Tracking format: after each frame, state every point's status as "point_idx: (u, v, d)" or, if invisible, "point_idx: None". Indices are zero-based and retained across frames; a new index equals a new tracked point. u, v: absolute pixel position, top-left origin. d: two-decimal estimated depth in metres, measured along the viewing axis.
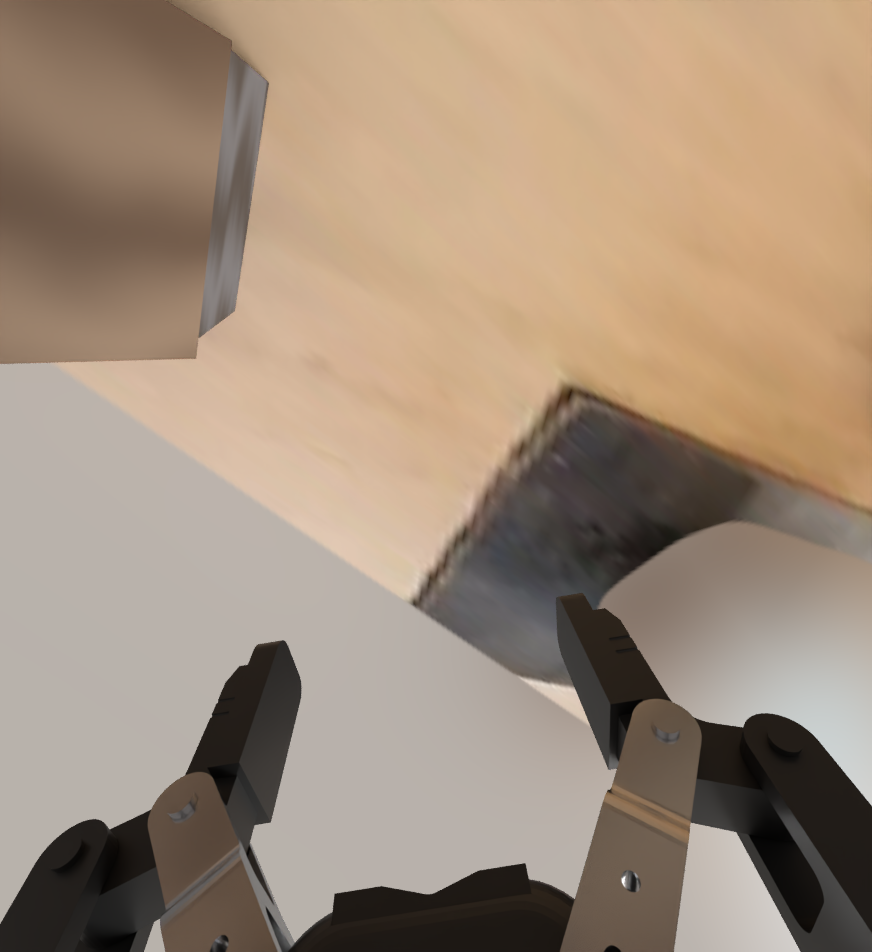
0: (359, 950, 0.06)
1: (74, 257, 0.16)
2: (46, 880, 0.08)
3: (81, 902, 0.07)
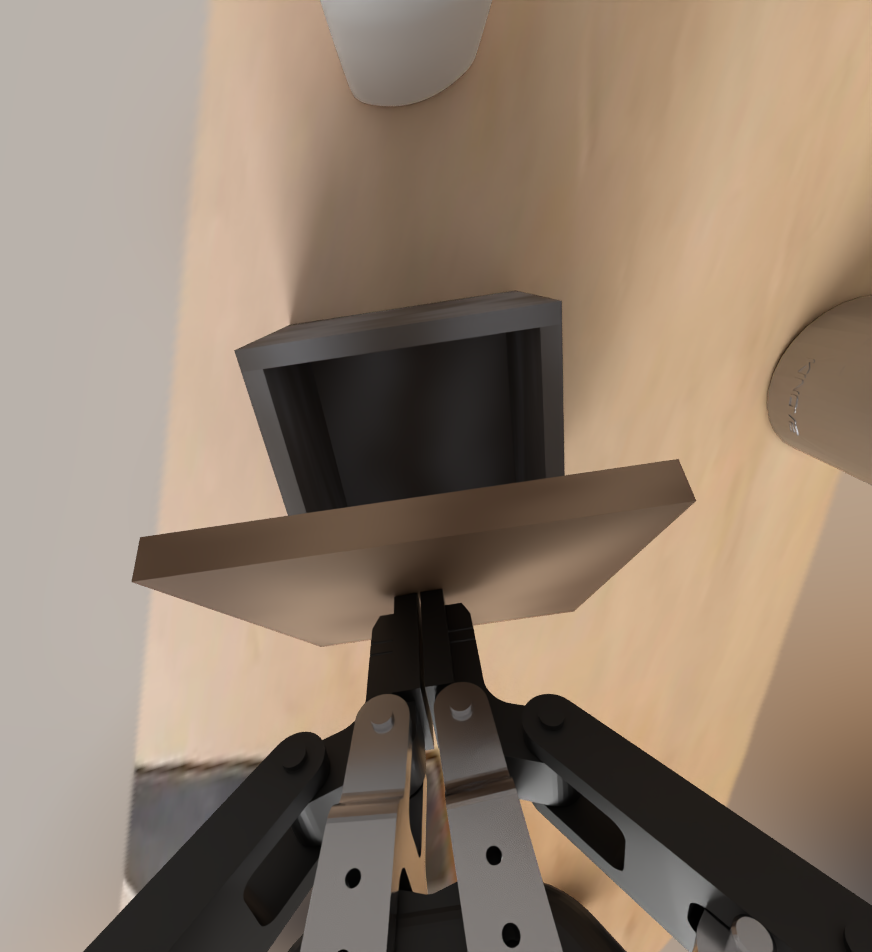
0: None
1: None
2: (277, 768, 0.09)
3: (287, 813, 0.08)
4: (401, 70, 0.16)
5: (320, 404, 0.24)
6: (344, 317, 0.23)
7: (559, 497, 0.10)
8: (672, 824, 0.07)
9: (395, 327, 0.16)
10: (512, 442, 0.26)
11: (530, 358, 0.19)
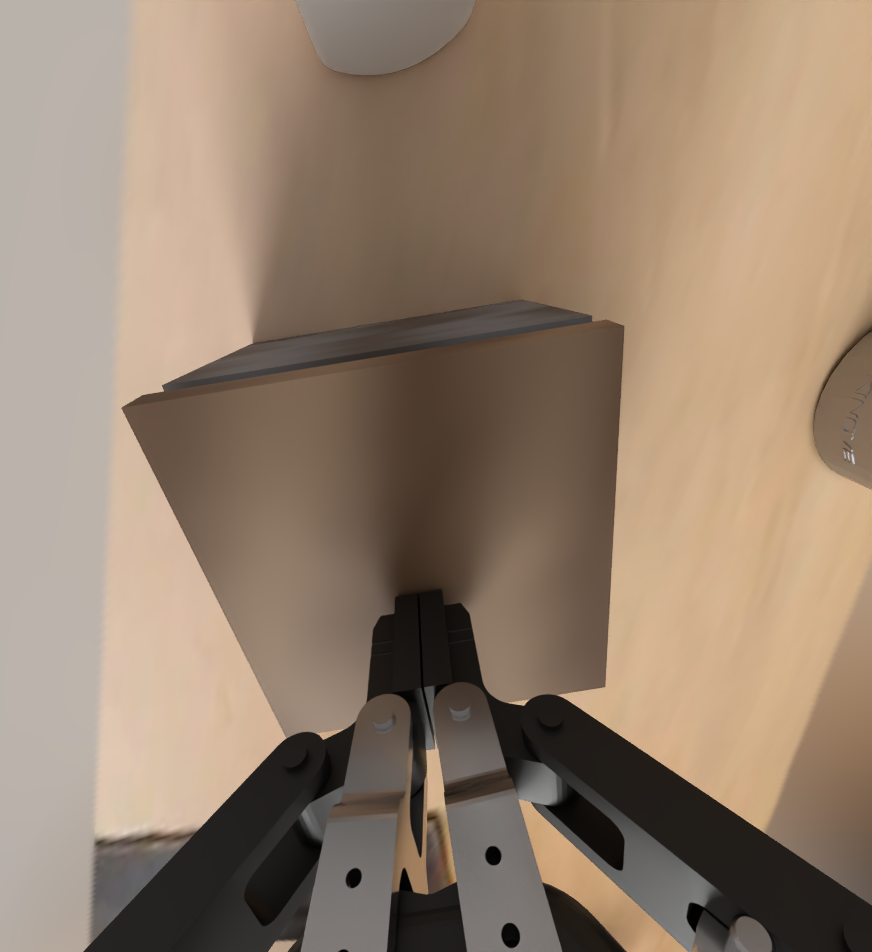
0: None
1: (362, 629, 0.14)
2: (278, 768, 0.09)
3: (287, 813, 0.08)
4: (377, 17, 0.12)
5: None
6: (317, 334, 0.19)
7: (504, 340, 0.11)
8: (671, 824, 0.07)
9: (374, 353, 0.12)
10: None
11: None
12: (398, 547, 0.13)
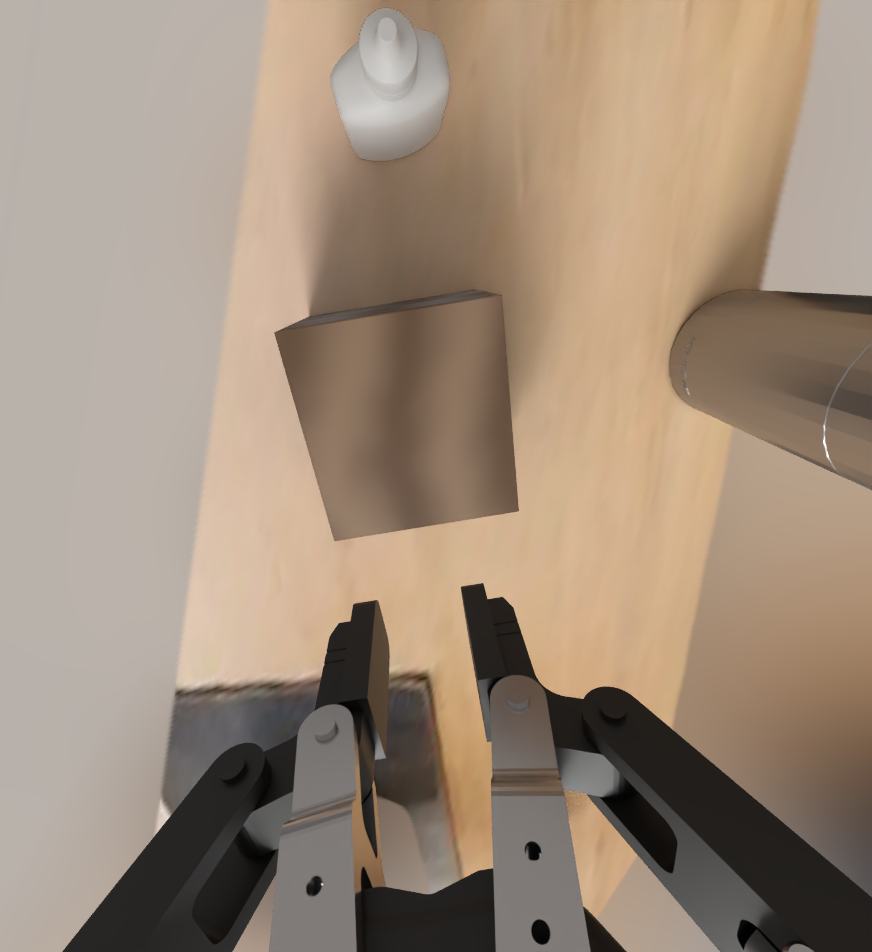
0: None
1: (380, 463, 0.27)
2: (215, 784, 0.09)
3: (231, 822, 0.08)
4: (389, 144, 0.24)
5: None
6: (349, 310, 0.31)
7: (448, 303, 0.24)
8: (730, 837, 0.07)
9: None
10: None
11: None
12: (399, 411, 0.25)
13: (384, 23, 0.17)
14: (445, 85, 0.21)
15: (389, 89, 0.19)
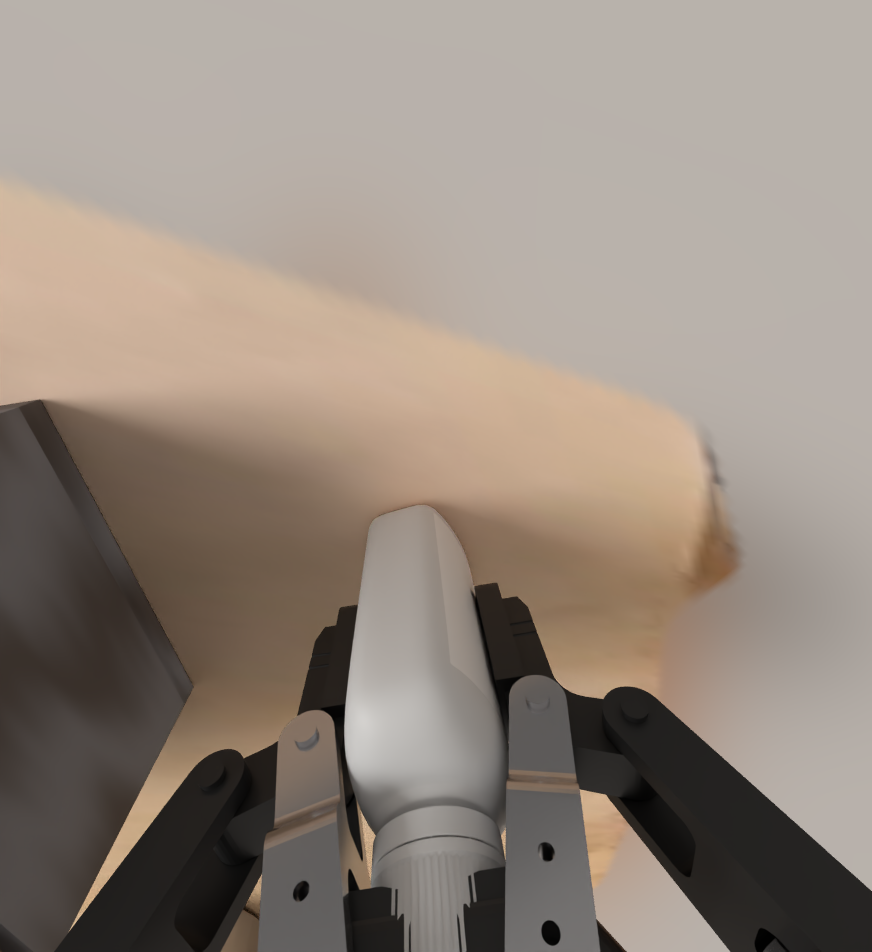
0: (359, 950, 0.06)
1: None
2: (194, 792, 0.09)
3: (211, 828, 0.08)
4: None
5: None
6: (78, 497, 0.14)
7: None
8: (751, 845, 0.07)
9: None
10: None
11: None
12: None
13: None
14: None
15: None
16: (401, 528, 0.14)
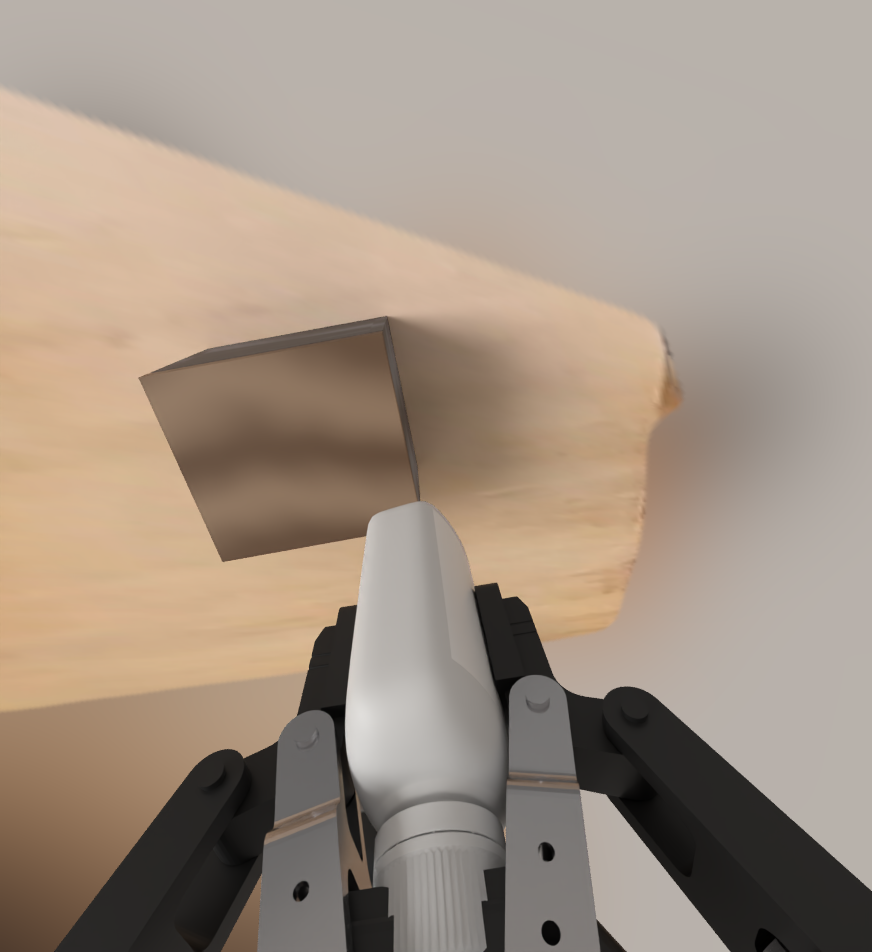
0: (359, 950, 0.06)
1: (253, 431, 0.25)
2: (194, 792, 0.09)
3: (211, 829, 0.08)
4: None
5: None
6: (395, 359, 0.33)
7: (414, 484, 0.28)
8: (751, 844, 0.07)
9: None
10: None
11: None
12: (313, 449, 0.26)
13: None
14: None
15: None
16: (400, 524, 0.14)
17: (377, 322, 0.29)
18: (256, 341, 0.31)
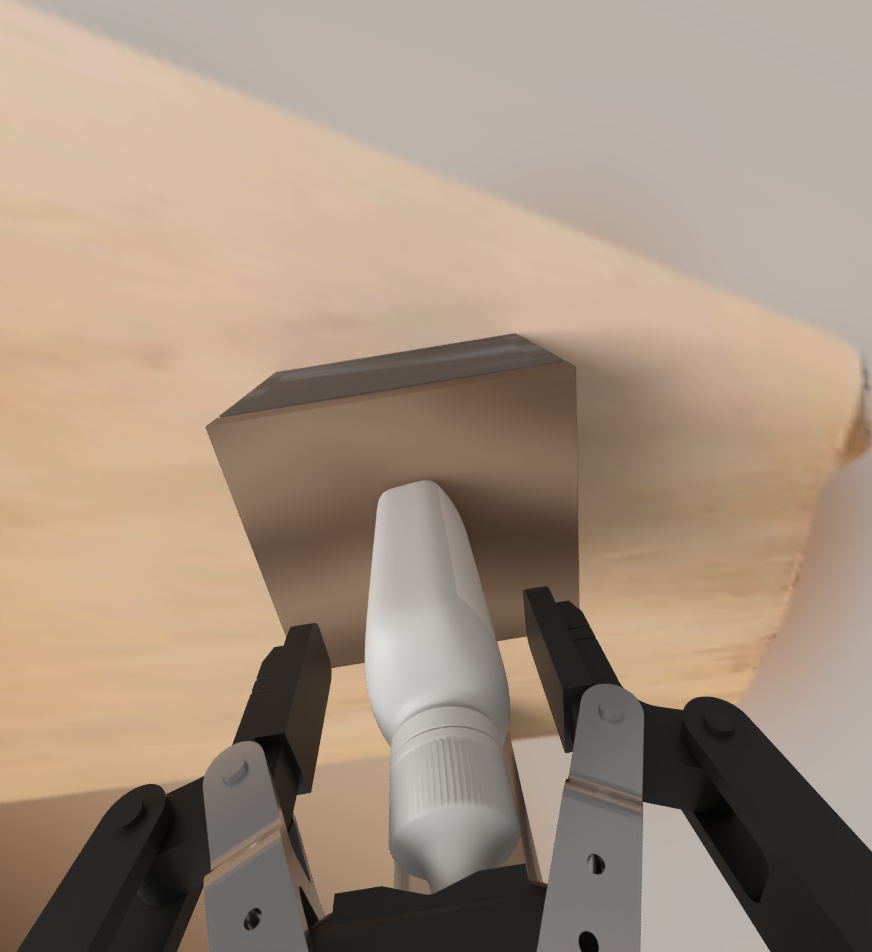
0: (359, 950, 0.06)
1: (366, 503, 0.17)
2: (110, 836, 0.08)
3: (136, 865, 0.08)
4: None
5: None
6: None
7: None
8: (835, 886, 0.06)
9: None
10: None
11: None
12: None
13: None
14: None
15: (390, 818, 0.08)
16: (409, 498, 0.15)
17: (519, 344, 0.21)
18: (344, 364, 0.23)
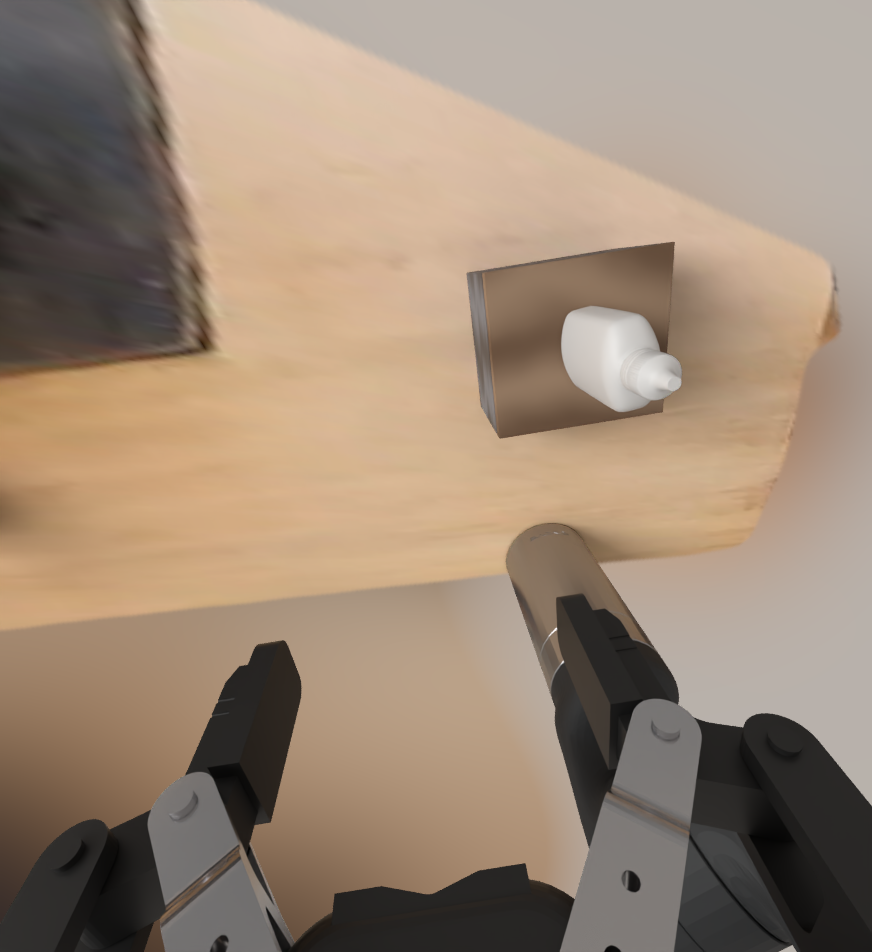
0: (359, 950, 0.06)
1: (556, 322, 0.32)
2: (46, 880, 0.08)
3: (81, 902, 0.07)
4: (580, 352, 0.29)
5: None
6: None
7: None
8: None
9: None
10: None
11: None
12: None
13: (678, 382, 0.22)
14: (618, 409, 0.27)
15: (632, 375, 0.23)
16: (590, 308, 0.30)
17: None
18: (513, 265, 0.37)
